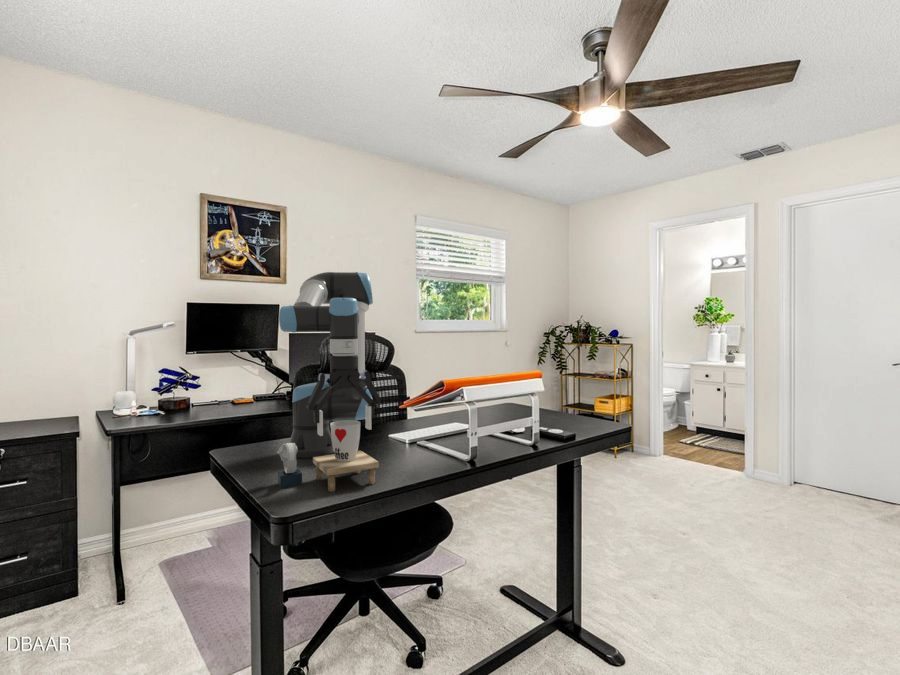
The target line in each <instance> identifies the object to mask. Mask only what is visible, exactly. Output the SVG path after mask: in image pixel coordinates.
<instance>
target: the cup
mask: <svg viewBox="0 0 900 675" xmlns="http://www.w3.org/2000/svg"><path fill="white" fill-rule="evenodd" d="M329 428H330V434H331V440H332V446H333V451H334V452H333V454H335V458H336V460H337V461H339V462H349V461H353V460H355V458H356V454H357V451H359V446H360V438H361V421H359V420H336V421H333V422H330V424H329Z"/></svg>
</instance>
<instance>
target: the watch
mask: <svg viewBox="0 0 900 675" xmlns="http://www.w3.org/2000/svg"><path fill="white" fill-rule="evenodd" d="M277 454H279V457H280V459H281V461H282V462H283V469H284V470H283V471H278V472H277V483H278V486H279V488H280V489H284V488H290V487H296V486H303V472H302V471H301V470H300V469H299V468H297V463H298V462H297V457H296V456H295V455H296V454H297V446H296V444H295V443H289V442H287V443H283V444H282V445H281V446H280V447H279V448H278V450H277Z"/></svg>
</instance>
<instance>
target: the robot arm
mask: <svg viewBox="0 0 900 675" xmlns="http://www.w3.org/2000/svg"><path fill="white" fill-rule="evenodd" d="M373 300H374V299H373V292H372V284H371V279H370V275H369V274H368V273H366V272H358V271H355V272H353V271H352V272H351V271H350V272H349V271H348V272H336V271H334V272H332V271H326V272H321V273H317V274H314V275H313V276H311V277H309V278H307V279H306V280H305V281H304V282H303V283H302V284H301V286H300V288H299V295H298V297H297V299H296V300H295V302H294V303H293V305H291V304H289V305H284V306H281V307H280V309H279V314H278V322H279V328H280V330H281V331H282V332H284V333H285V332H287V333H319V332H320V333H327V332H328V333H329V353H330V356H329V369H330V370H329V373H322V372H319V373H318V375H317V382H312V383H311V382H310V383H307V384H302V385H298V386H296V387H295V388H294V389H293V392H292V399H291V400H292V401H291V403H292V433H291V436H290V439H289V442H288V443H295V444H296V446H297V454H296V455H295V456H296V458H300V459H301V458H302V459H307V458H313V457H318V456H325V455H331V454H333V453H334V451H333V446H332V440H331V430H330V424H329V422H330V421H333V422H336V421H344V420H354V421H359V420H365V424H364V425H365V429H366V430H369V431H370V430H372V418H374V417H375V406H376V405H377V404H380V403H381V402H382V399H381V398H380V396H379V393H378V391H377V389H376V388H375V386H374V383H373V381H372V379H371V373H370V372H369V370H366V364H365V363H366V343H365V342H366V337H365V336H366V335H365V334H366V329H365V328H366V327H365V326H366V321H365V318H366V317H365V316H366V314H365V313H366V312H368V311H369V308H370V305H372V304H373V302H374V301H373ZM325 304H326V305H325ZM331 354H332V355H331ZM328 380H329V381H330V382H331V383H329V382H328Z"/></svg>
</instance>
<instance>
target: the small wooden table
mask: <svg viewBox="0 0 900 675" xmlns="http://www.w3.org/2000/svg"><path fill="white" fill-rule="evenodd" d="M312 463H313V464H314V465H315V466H316V469H315V471H316V478H315V479H316V480H317V481H323V480H324V474H325V475H326V476H327V492H330V493H333V492H335V491H336V475H340V474H346V473H353V472H354V474H355V475H359V474H362V471H366V470H367V472H368V474H367V477H368V483H367V484H368V485H375V484H376V469H378V468H380V461H379V460H376V459H375V458H374V457H372V456H371V455H369V454H367V453H365V452H364V451H362V450H358V451H357V454H356V458H355V460H353V461H349V462H339V461H337V460H336V458H335V454H334V453H332V454H328V455H324V456H318V457H312Z"/></svg>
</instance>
